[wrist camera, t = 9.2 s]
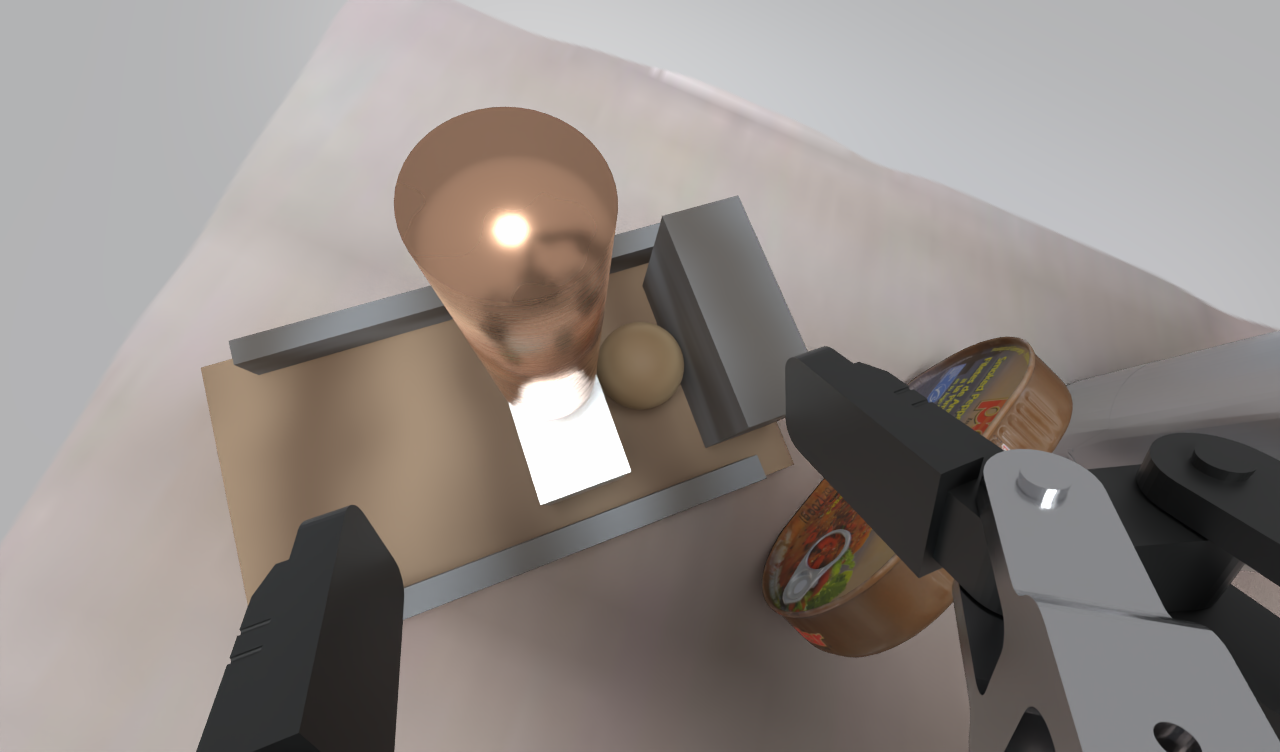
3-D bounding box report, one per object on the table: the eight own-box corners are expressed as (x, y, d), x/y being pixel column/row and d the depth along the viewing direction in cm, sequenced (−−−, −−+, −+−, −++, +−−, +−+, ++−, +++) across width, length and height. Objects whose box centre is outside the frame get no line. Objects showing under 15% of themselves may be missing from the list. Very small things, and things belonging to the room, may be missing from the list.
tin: (918, 361, 27) (1062, 299, 19) (964, 403, 27) (1130, 358, 19) (733, 586, 23) (816, 627, 15) (785, 638, 23) (897, 707, 15)
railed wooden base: (687, 248, 27) (729, 146, 20) (777, 467, 25) (866, 449, 17) (232, 379, 23) (59, 314, 15) (290, 656, 21) (120, 744, 13)
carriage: (560, 306, 23) (532, -29, 9) (621, 478, 22) (709, 419, 7) (489, 327, 23) (332, 5, 8) (546, 506, 21) (477, 502, 7)
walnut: (658, 328, 24) (672, 297, 20) (687, 401, 23) (706, 382, 20) (583, 351, 23) (584, 324, 20) (610, 427, 22) (616, 413, 19)
